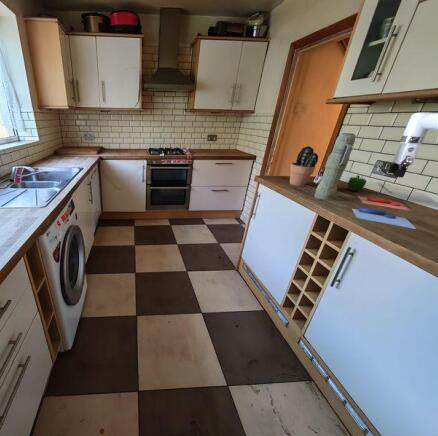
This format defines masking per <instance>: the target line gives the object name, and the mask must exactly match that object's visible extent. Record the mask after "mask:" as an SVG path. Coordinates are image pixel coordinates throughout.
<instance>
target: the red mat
mask: <svg viewBox="0 0 438 436" xmlns="http://www.w3.org/2000/svg"><path fill="white" fill-rule="evenodd" d="M357 198H358V199H359V201H360V202H361V203H363V204H367V205H373V206H379V207H386V208H391V209H396V210H397V209H398V210H403V211H409V212H414V210H413V209H412V208H411V207H409V205H407V204H406V203H405V202H398V201H396V202H397V203H400V204H401V205H400V206H393V205H390V204H386V203H380V202H373V201H368V200H367V198H368V197H366V196H359V195H357Z"/></svg>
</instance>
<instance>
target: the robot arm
mask: <svg viewBox="0 0 438 436" xmlns="http://www.w3.org/2000/svg"><path fill="white" fill-rule="evenodd" d="M429 130H435V131H438V112H415V113H413V114H412V115H411V116H410V118H409V120H408V123H407V124H406V127H405V129H404V131H403V134H402V136H401V138H400V140H399V142H398V143H399V146H398V149H397V150H396V152H395V154H394V157H393V159H392V163H391V164H390V167H389V169H388V171H387V172H388V174H394V175H393V176H394V177H395V178H404V176H405V174H406V172H407V171H408V169H409V167H410V166H412V165H413V163H414V161H415V159H416V157H417V154H418V151H419V148H420V145H422V144H423V142H424V140H425V137H426V136H427V134H428V131H429Z"/></svg>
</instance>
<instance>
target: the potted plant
mask: <svg viewBox="0 0 438 436" xmlns="http://www.w3.org/2000/svg"><path fill="white" fill-rule="evenodd" d="M318 162H319V155H318V154H317V152H314V148H313V147H311V146H310V145H307V146H304V147H302V148H301V150H300V151H299V152H298V154H297V157H296V161H295V162H291V164H290V168H289V172H290V173H289V184H290V185H291V186H295V187H305V185H306V184H307V182H308V181H309V179H310V177H311V175H313V174H314V172H315V169H316V165H317V163H318Z"/></svg>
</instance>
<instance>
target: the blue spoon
mask: <svg viewBox="0 0 438 436" xmlns="http://www.w3.org/2000/svg"><path fill="white" fill-rule="evenodd" d="M357 210H358V211H360V212H364V213H370V214H376V215H381V216H384V217H387V218H391V219H395V218H396V217H397V215H395V214H393V213H389V212H386V211H385V210H380V209H374V208H367V207H362V206H361V207H358V209H357Z"/></svg>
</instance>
